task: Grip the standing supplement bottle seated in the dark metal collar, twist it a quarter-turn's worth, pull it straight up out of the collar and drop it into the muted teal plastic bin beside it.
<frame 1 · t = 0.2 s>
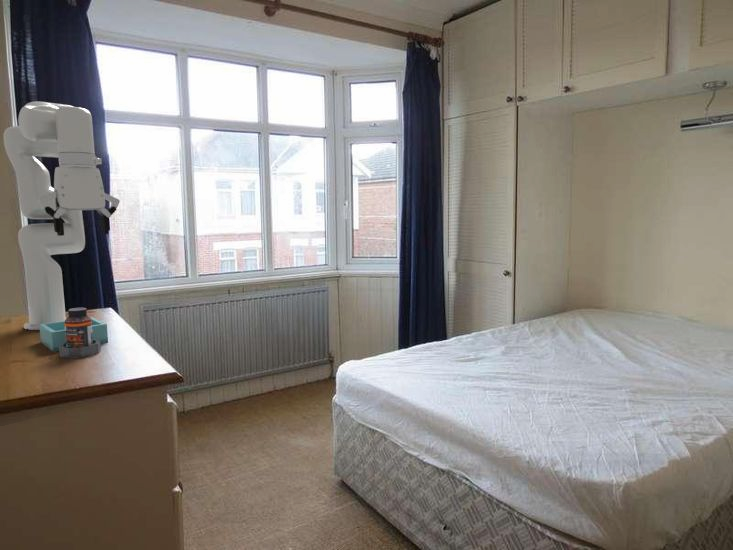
hand: (83, 234, 122), 30 cm above the table, fingers open, 9 cm apart
supplement bottle: (80, 354, 127), resting in collar
collar: (80, 353, 127), on the table
bin: (74, 342, 138), on the table
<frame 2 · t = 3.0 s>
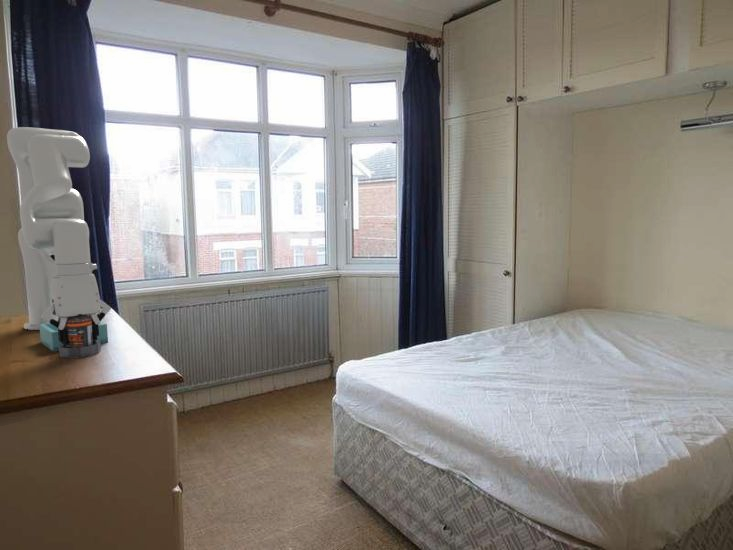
hand: (79, 341, 127), 3 cm above the table, fingers closed on supplement bottle, 6 cm apart
supplement bottle: (80, 353, 127), resting in collar, touching gripper
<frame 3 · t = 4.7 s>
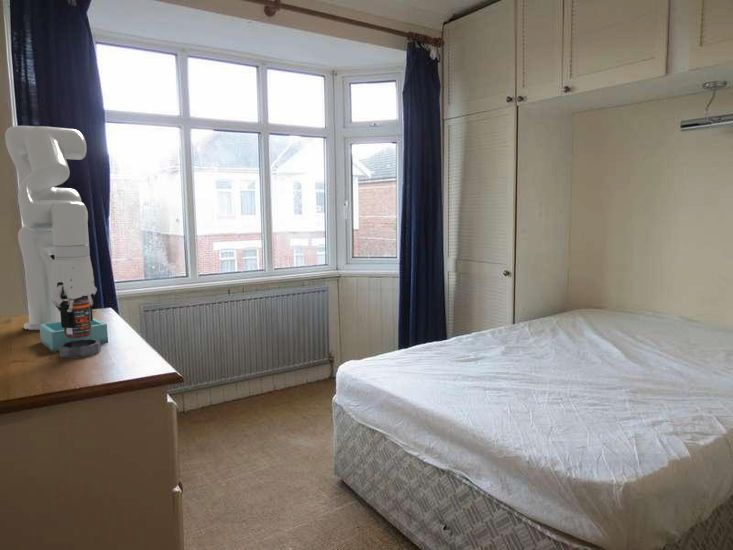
hand: (77, 323, 126), 7 cm above the table, fingers closed on supplement bottle, 6 cm apart
supplement bottle: (78, 336, 127), point 4 cm above the table, touching gripper
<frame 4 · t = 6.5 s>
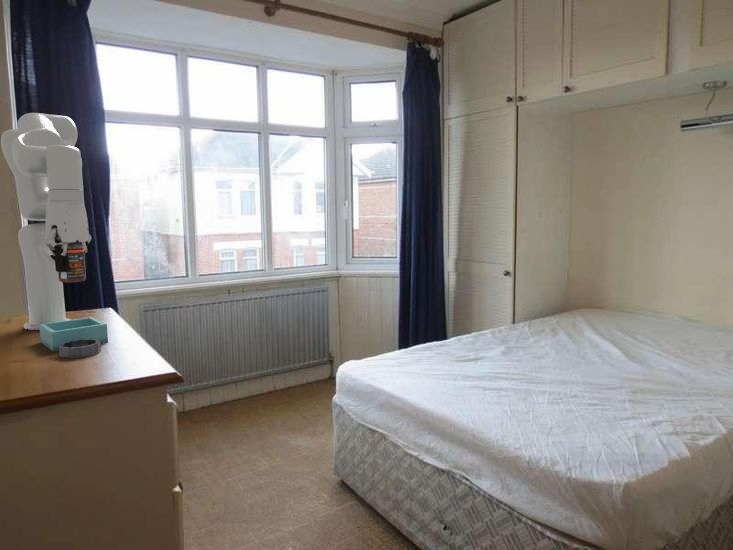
hand: (71, 269, 127), 21 cm above the table, fingers closed on supplement bottle, 6 cm apart
supplement bottle: (72, 282, 128), point 18 cm above the table, touching gripper
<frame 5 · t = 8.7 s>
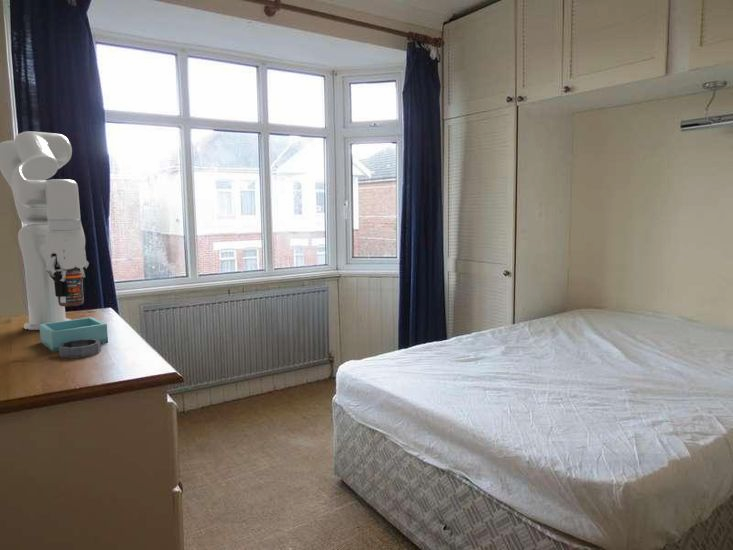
hand: (70, 293, 136), 13 cm above the table, fingers closed on supplement bottle, 6 cm apart
supplement bottle: (71, 305, 136), point 10 cm above the table, touching gripper
when the fingers open (6 cm above the table, at t = 10.5 s): supplement bottle drops 2 cm, resting on bin.
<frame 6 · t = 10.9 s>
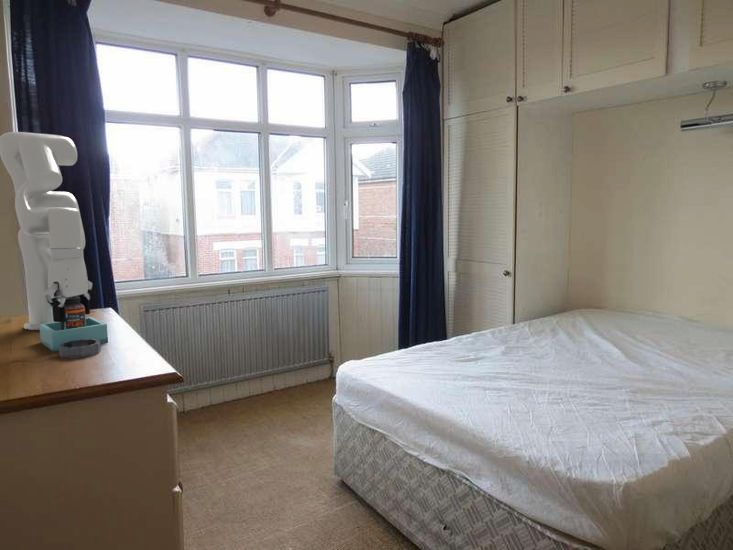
hand: (72, 317, 137), 7 cm above the table, fingers open, 9 cm apart
supplement bottle: (74, 339, 138), point 1 cm above the table, touching bin
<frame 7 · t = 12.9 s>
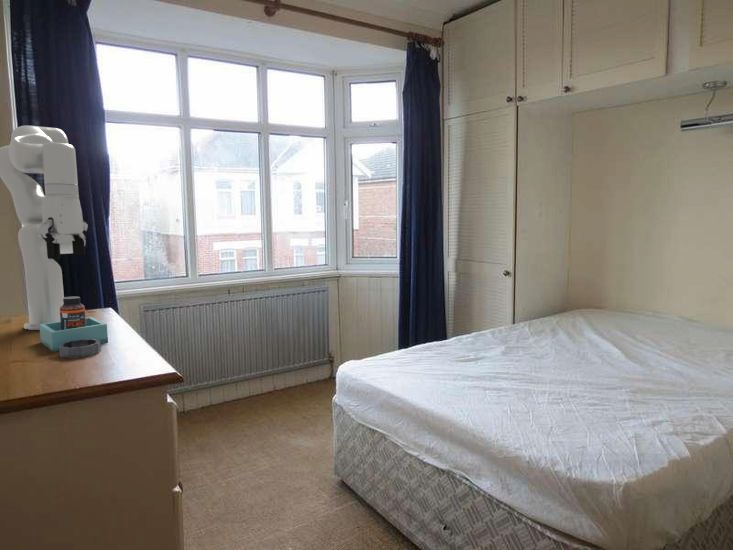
hand: (67, 256, 135), 23 cm above the table, fingers open, 9 cm apart
nothing on the table moved.
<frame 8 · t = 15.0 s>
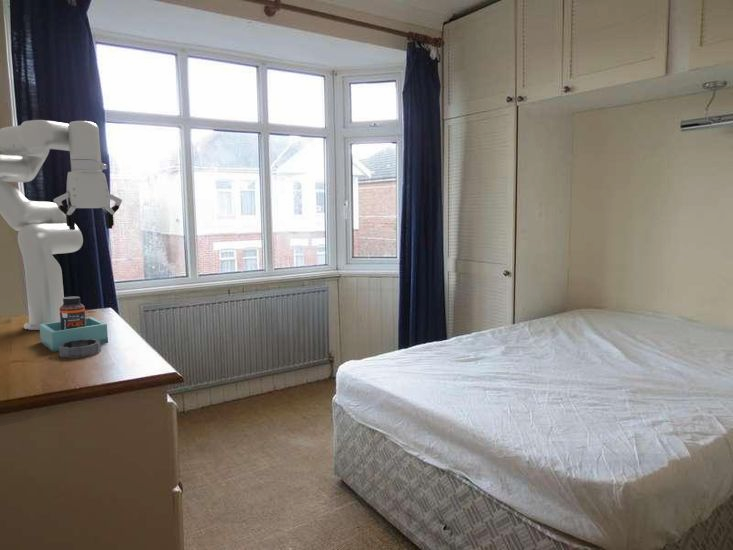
hand: (91, 229, 143), 30 cm above the table, fingers open, 9 cm apart
nothing on the table moved.
at the end: supplement bottle inside the target area on the bin (0.3 cm from its centre), point 0.8 cm above the bin's base; the gripper is holding nothing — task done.
